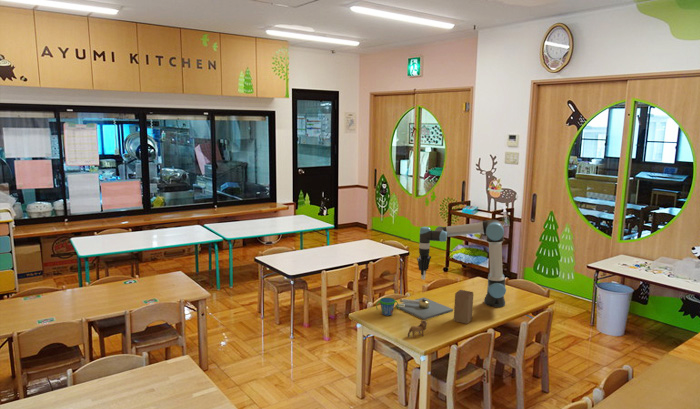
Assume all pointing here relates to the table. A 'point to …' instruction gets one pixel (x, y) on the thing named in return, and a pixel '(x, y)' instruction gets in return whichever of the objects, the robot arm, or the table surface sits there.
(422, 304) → the brass ladle
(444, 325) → the table surface
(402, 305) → the dial plate
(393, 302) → the snack cup
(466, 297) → the wooden block
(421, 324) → the lion figurine
